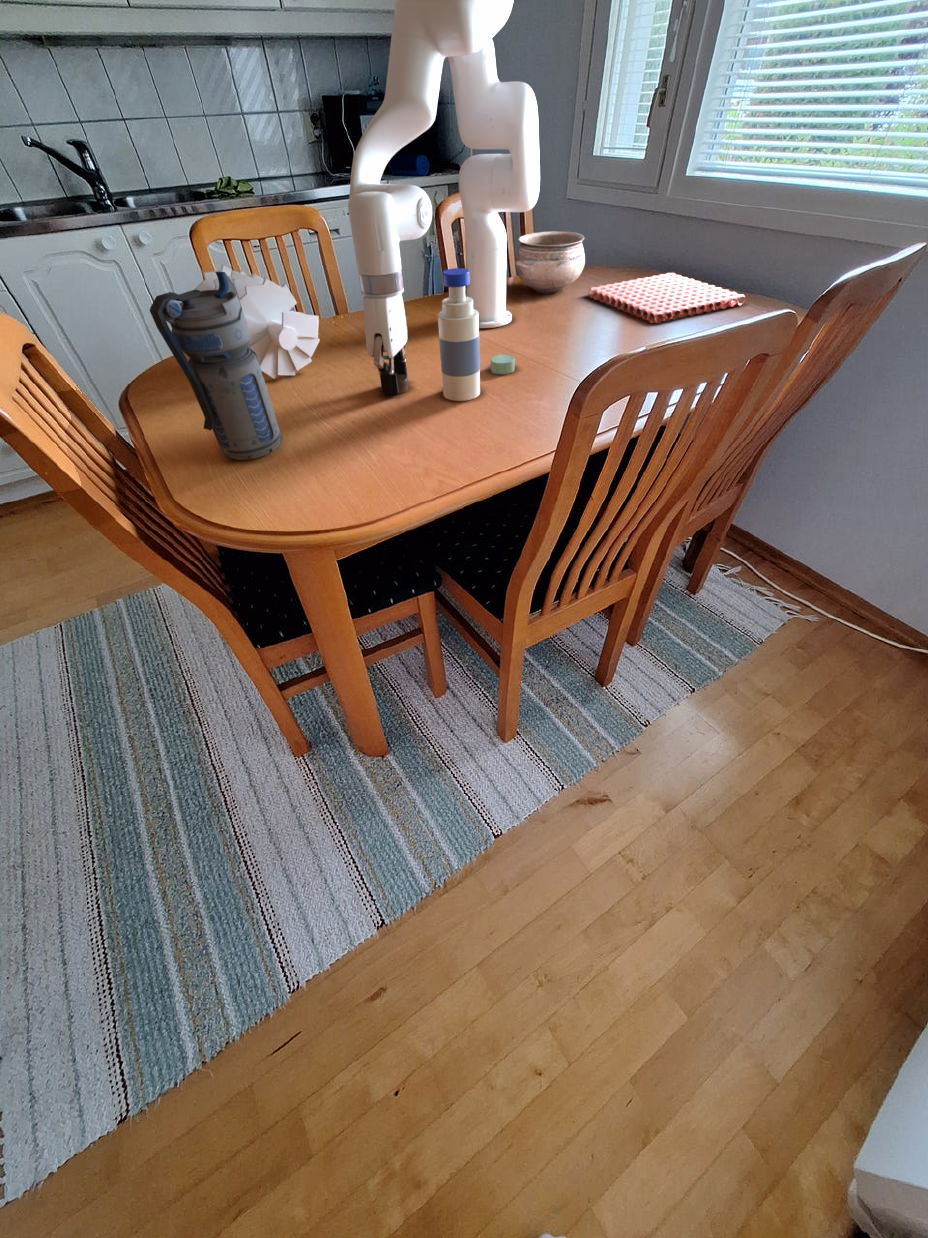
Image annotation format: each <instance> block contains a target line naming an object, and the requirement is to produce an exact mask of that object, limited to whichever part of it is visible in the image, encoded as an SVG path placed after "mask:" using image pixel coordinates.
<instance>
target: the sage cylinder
mask: <svg viewBox="0 0 928 1238" xmlns="http://www.w3.org/2000/svg"><path fill="white" fill-rule="evenodd" d="M515 360H516V358H515V356H513V355H511V354H505V353H504V354H503V353H501V354H496V355H493V356H491V357H490V360H489V361H490V364H489V365H490V372H491V373H493V374H495V375H509V374H512V373H514V371H515V369H516V368H515V362H516V361H515Z"/></svg>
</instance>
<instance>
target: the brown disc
mask: <svg viewBox="0 0 928 1238" xmlns="http://www.w3.org/2000/svg"><path fill="white" fill-rule="evenodd" d="M396 375H397V383H398V391H399V393H398V394H397V395H401V394H403V393H406V392H407V391H408V390H409V383H408V382H409V380H408V381H407V376H408V375H407V376H406V375H404V374H401V373H396Z"/></svg>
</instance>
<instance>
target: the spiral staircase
mask: <svg viewBox="0 0 928 1238" xmlns="http://www.w3.org/2000/svg"><path fill="white" fill-rule="evenodd" d="M218 271H221V272H225V273H226V274H227V276H228V277H229V278H230V280H231V281H232V283H233V284H234V285H235V287H236V290H237V294H238V297H239V300H240V303H241V307H242V310H243V313H244V316H245V319H246V323H247V326H248V329H249V333H250V336H251V338H250V342H249V345H248V347H249V348H250V349H252V350H253V351H255V353H256V355H257V358H258V362H259V365H260V368H261V371H262V373H264V374H266V375H268V376H269V377H270V378H272V379H273V380H275V379H276V377H277V376H296V371H297V372H299V371H300V370H301V369H303V368H304V367H305V366H307V365H309V364H310V363H311V362H313V360H312V359H311V358H312V357H313V355H314V353H315V352H316V349H317V348H318V345H319V344H320V341H321V339H320V338H319V326H320V325H319V323H320V316H319V315H317V314H315V315H314V314H305V313H304V312H301V311H300V312H299V311H295V310H292V309H293V308H294V307H295V306H296V305H297V304H298V302H297V300H296V298H295V296H294V295H293V294H292V292H291V290H290V289H289V287H288V286H287V284H286V283H283V285H282V286H280V285H279V284H277V283H276V282H275V281H274V280H270V279H268V278H267V277H264V278H263V277H261V276H259V275H258V274H256V273H255V272H252V273H250V275H249V276H248V275H247V274H246V273H245V272H244V270H242V269H241V270H240V271H235V270H234V269H232V268H230V267H228V266H226V265H224V264H221V267H220V270H213V271H205V272H203V273H202V275H203V278H204V279H203V280H202V281H201V282H200V283H199V284H198V285H197V286H196V287H195V288H194V289H193V290H199V291H206V290H218V289H219V281H218V277H217V275H216V273H215V272H218Z"/></svg>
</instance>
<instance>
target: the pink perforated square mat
mask: <svg viewBox="0 0 928 1238" xmlns="http://www.w3.org/2000/svg"><path fill="white" fill-rule="evenodd" d="M590 290H591V291H592V294H591V295H590V293H589V292H590ZM587 294H588V297H589V298H591V299H592V298H593V299H594V300H595V301H599V302H600V303H605V305H607V306H608V305H610V306H611V307H612V308H617V310H622V311H623V313H629V315H633V316H634V315H635V316H636V318H642V320H643V321H649V323H650V324H661V323H662V322H669V321H671V320H678V319H679V318H683V319H685V318H686V317H688V316H690V317H693V316H695V315H697V314H698V315H702V314H703V313H710V312H711V311H715V312H717V311H719V310H720V309H722V310H726V309H727V308H734V307H735V306H742V305H743V304H744V303H745V300H746V296H745V294H744V293H740V294H739V293H737V292H736V291H730V290H729V289H723V288H722V287H721V286H720V287H716V285H714V284H708V283H707V282H702V281H701V280H695V279H694V278H689V277H688V276H682V274H676V273H675V272H666V273H665V274H662V273H659V274H658V275H651V276H649V277H648V276H645V277H643V278H640V277H638V278H636V279H629V280H628V281H626V280H622V281H621V282H614V283H613V284H612V283H611V284H610V283H607V284H606V285H599V286H597V287H595V286H591V287H590V288H589V290H588V292H587ZM741 298H743V301H742V302H741V303H740V302H739V301H740V299H741ZM734 299H735V300H734Z"/></svg>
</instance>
